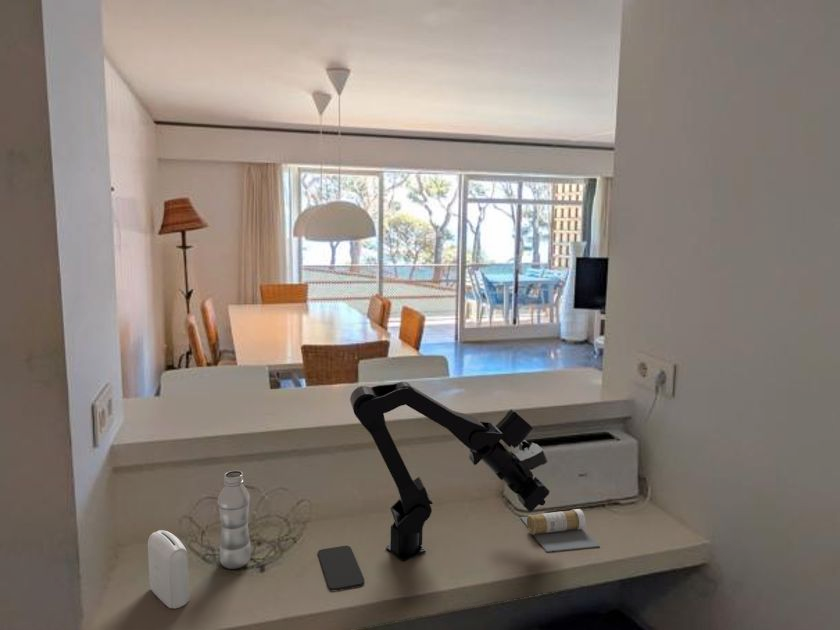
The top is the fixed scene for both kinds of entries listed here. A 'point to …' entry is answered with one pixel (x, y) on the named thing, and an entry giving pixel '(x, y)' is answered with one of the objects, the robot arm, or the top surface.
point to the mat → (564, 539)
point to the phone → (340, 568)
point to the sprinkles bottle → (556, 521)
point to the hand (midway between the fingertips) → (543, 503)
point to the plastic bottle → (234, 522)
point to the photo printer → (168, 569)
